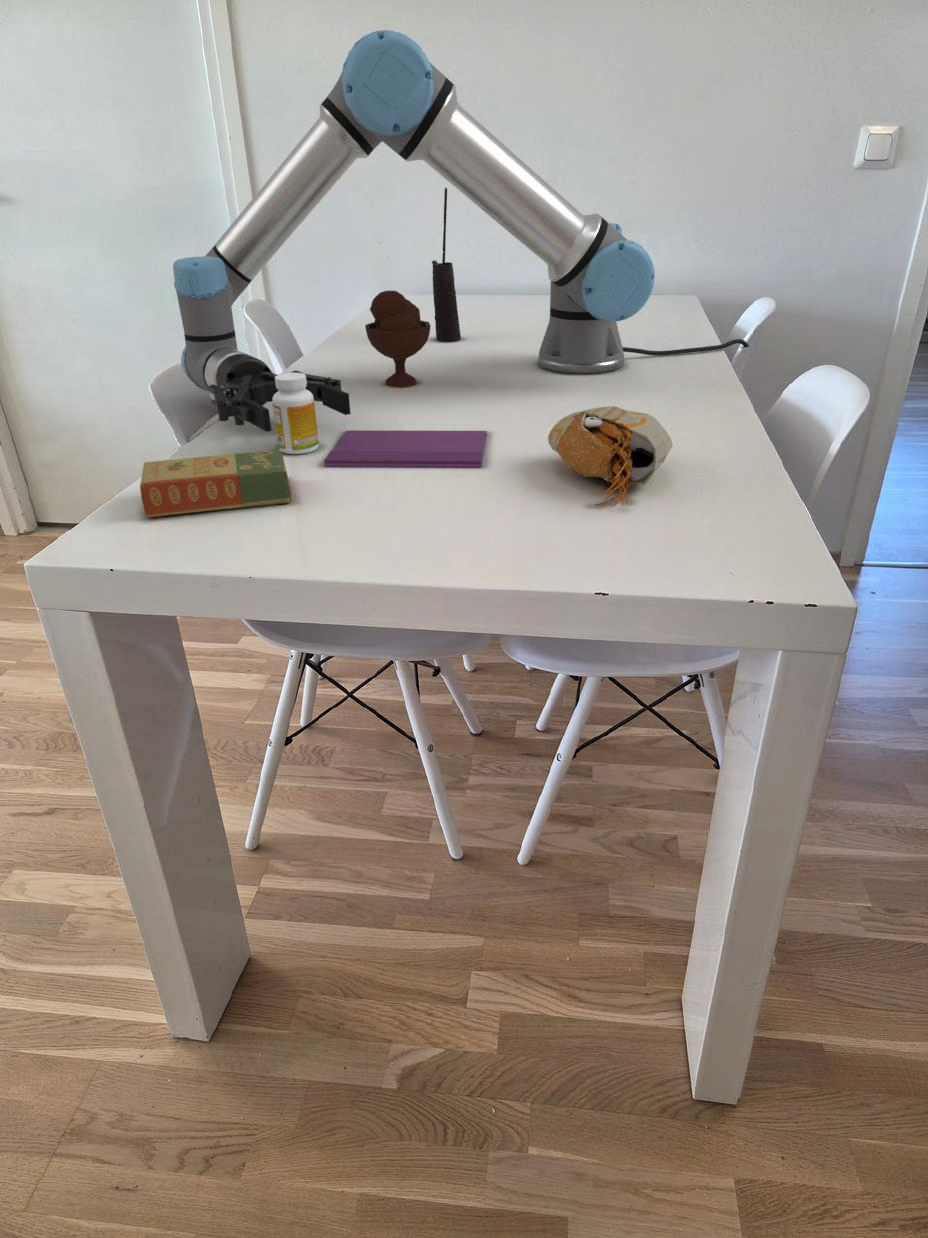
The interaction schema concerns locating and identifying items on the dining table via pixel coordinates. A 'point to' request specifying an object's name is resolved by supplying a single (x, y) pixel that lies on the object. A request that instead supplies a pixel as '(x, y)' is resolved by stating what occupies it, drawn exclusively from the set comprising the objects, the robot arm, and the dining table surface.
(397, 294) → the ice cream bowl
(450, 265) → the butter churn
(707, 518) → the dining table surface
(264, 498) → the carton
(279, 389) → the supplement bottle
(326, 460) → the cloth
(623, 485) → the nautilus
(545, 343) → the robot arm
